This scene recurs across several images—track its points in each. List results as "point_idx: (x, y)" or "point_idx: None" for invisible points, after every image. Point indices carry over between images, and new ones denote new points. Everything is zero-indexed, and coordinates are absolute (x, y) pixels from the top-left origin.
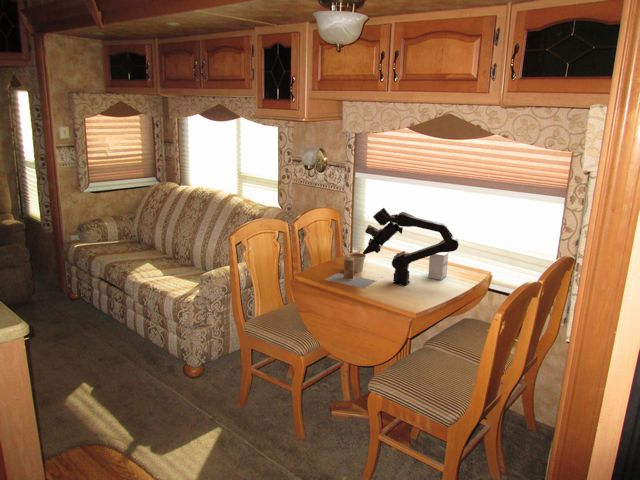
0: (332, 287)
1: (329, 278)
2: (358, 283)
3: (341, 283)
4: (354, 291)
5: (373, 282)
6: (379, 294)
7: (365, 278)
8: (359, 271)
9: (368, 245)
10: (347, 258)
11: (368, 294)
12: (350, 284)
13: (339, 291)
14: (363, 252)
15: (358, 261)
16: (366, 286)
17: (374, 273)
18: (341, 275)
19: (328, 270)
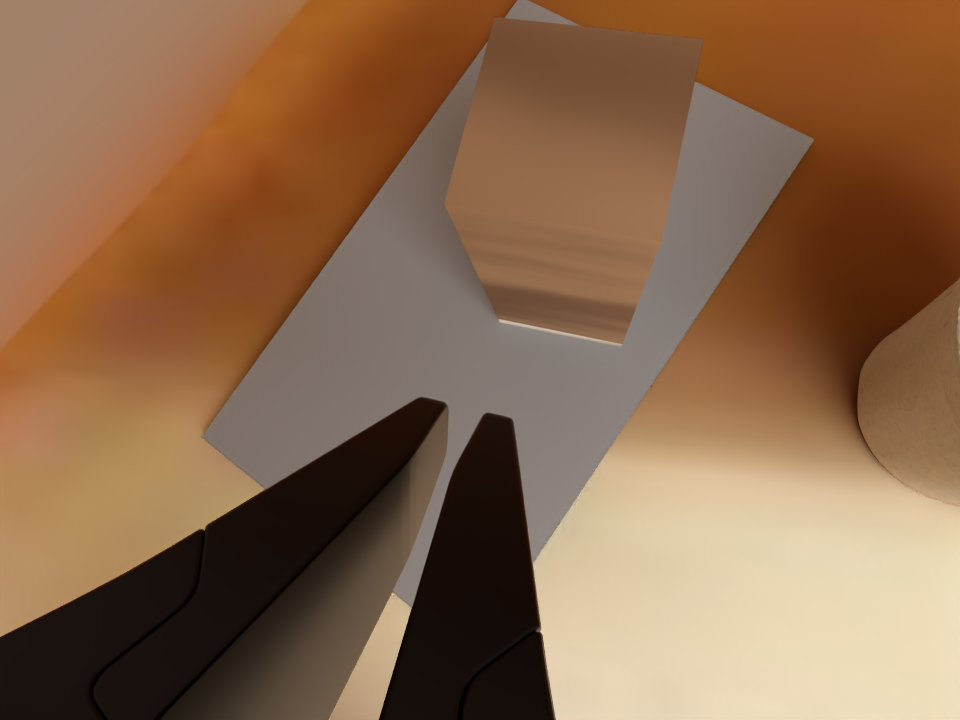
0: (294, 100)
1: None
2: (371, 385)
3: (383, 185)
4: (154, 322)
5: (401, 592)
6: (30, 596)
7: (572, 502)
8: (877, 445)
9: (96, 700)
10: (603, 83)
11: (50, 467)
12: (343, 286)
13: (173, 170)
14: (397, 418)
15: (945, 401)
16: (259, 473)
17: (871, 693)
18: (694, 186)
19: (949, 25)
